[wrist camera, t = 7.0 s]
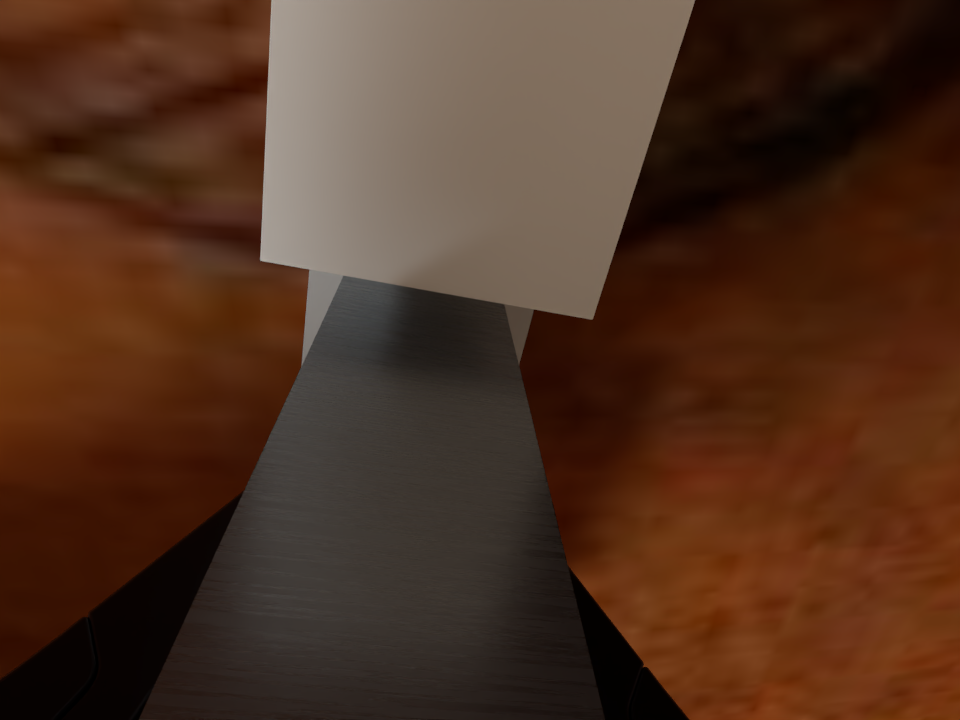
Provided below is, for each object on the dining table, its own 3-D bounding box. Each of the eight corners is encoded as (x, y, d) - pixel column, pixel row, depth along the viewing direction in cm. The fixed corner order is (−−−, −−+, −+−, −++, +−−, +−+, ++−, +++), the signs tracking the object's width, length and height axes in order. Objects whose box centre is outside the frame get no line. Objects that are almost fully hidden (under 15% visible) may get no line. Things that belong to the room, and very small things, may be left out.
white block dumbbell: (442, 622, 19) (441, 791, 15) (287, 607, 19) (237, 779, 14) (639, -131, 11) (780, -267, 6) (360, -213, 10) (290, -433, 5)
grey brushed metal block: (454, 478, 14) (471, 1185, 5) (327, 461, 14) (116, 1200, 5) (499, 285, 12) (658, 941, 3) (350, 258, 12) (42, 929, 3)
